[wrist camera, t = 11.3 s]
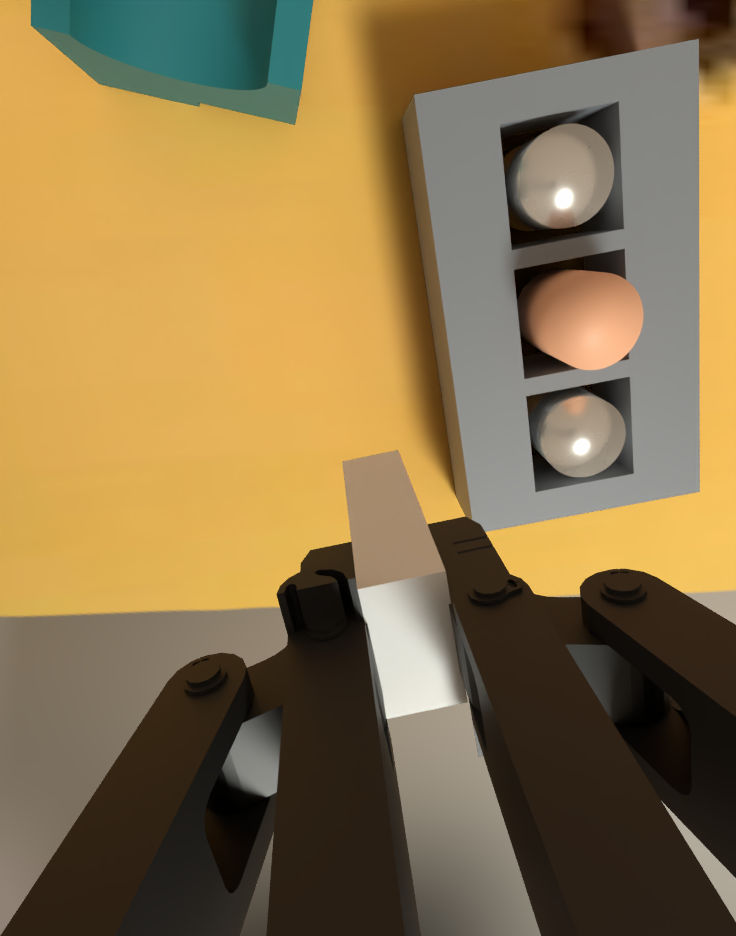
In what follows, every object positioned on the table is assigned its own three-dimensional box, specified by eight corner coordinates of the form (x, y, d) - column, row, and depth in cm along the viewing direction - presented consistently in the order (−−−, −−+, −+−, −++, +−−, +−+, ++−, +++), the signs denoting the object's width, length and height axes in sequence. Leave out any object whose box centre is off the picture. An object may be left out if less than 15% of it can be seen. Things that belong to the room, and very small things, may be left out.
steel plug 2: (518, 451, 43) (547, 484, 37) (511, 383, 41) (540, 406, 36) (587, 439, 43) (627, 469, 37) (583, 370, 41) (624, 390, 36)
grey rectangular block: (456, 497, 44) (474, 533, 39) (401, 118, 36) (414, 94, 31) (652, 460, 44) (699, 491, 38) (641, 71, 36) (698, 39, 30)
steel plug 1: (495, 237, 38) (524, 236, 32) (486, 151, 37) (515, 133, 31) (573, 222, 38) (616, 218, 32) (567, 136, 37) (612, 114, 31)
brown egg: (519, 357, 38) (552, 378, 32) (511, 276, 37) (544, 282, 31) (597, 343, 38) (644, 360, 32) (592, 261, 36) (642, 263, 31)
